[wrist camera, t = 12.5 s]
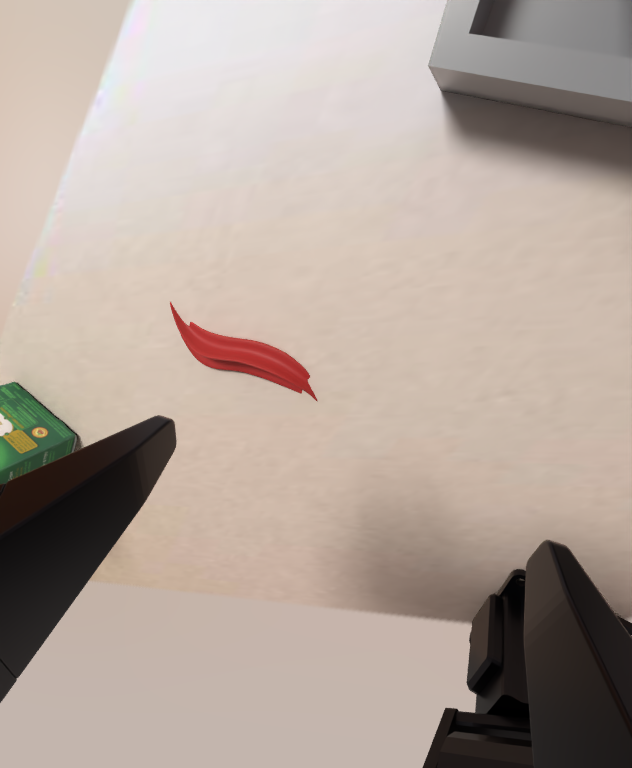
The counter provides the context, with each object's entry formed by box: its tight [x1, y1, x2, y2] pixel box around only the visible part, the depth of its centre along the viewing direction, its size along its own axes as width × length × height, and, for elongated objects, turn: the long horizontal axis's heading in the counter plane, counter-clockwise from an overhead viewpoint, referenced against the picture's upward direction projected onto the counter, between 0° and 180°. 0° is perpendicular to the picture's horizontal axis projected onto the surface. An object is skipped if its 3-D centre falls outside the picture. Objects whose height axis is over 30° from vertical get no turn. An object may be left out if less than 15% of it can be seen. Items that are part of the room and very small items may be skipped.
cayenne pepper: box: [170, 302, 317, 401], centre depth 25 cm, size 12×5×2 cm, turn 56°
